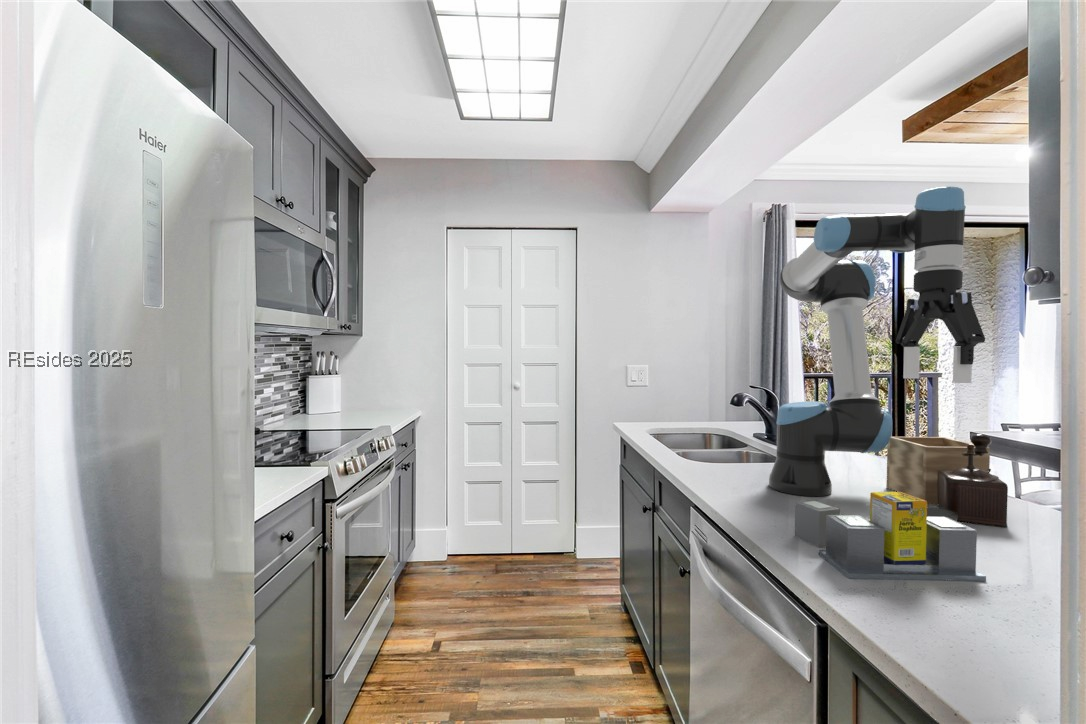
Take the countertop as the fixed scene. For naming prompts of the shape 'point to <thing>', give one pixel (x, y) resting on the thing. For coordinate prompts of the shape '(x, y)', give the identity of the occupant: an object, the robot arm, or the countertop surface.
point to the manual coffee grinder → (974, 490)
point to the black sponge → (942, 513)
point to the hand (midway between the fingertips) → (934, 380)
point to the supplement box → (901, 526)
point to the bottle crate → (926, 463)
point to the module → (812, 521)
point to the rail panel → (862, 557)
